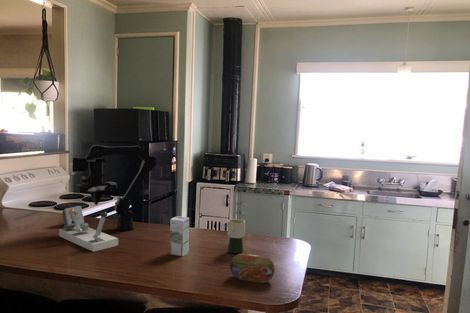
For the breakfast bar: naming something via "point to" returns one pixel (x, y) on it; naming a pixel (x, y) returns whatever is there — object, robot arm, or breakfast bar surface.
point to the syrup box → (179, 236)
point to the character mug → (236, 235)
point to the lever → (100, 226)
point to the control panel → (88, 238)
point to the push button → (84, 226)
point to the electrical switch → (77, 212)
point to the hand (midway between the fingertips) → (96, 204)
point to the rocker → (69, 226)
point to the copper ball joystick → (75, 220)
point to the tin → (252, 268)
